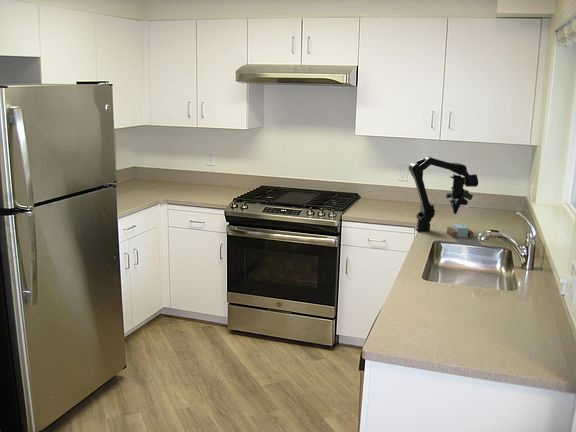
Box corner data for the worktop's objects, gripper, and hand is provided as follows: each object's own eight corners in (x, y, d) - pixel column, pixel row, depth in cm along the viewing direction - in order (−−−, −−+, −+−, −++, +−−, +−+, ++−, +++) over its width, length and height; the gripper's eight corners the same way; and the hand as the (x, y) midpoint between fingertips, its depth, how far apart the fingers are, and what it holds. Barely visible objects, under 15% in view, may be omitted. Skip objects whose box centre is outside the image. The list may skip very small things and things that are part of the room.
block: (456, 236, 322) (457, 228, 321) (451, 232, 330) (452, 224, 329) (467, 237, 323) (468, 228, 322) (462, 233, 331) (463, 224, 329)
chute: (451, 238, 321) (452, 232, 320) (445, 233, 331) (446, 227, 330) (473, 238, 322) (474, 232, 321) (467, 233, 332) (467, 227, 331)
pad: (459, 244, 310) (459, 243, 310) (451, 238, 321) (451, 237, 321) (482, 244, 310) (482, 244, 310) (473, 238, 322) (473, 237, 322)
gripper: (478, 190, 322) (475, 218, 325) (466, 183, 340) (463, 210, 343) (458, 189, 321) (455, 217, 325) (447, 183, 339) (444, 209, 343)
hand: (455, 213), depth 334 cm, fingers closed
